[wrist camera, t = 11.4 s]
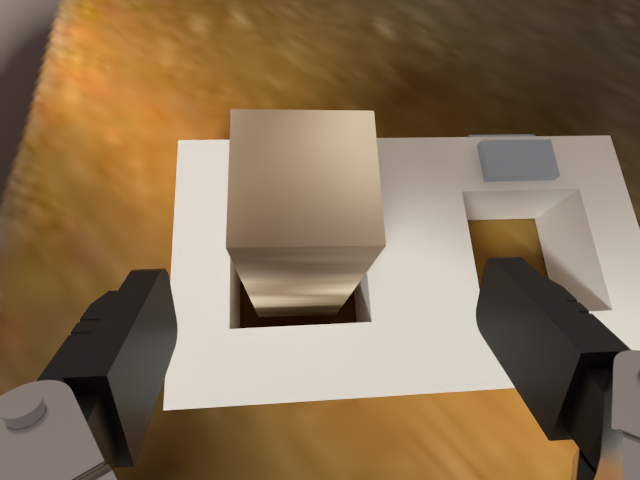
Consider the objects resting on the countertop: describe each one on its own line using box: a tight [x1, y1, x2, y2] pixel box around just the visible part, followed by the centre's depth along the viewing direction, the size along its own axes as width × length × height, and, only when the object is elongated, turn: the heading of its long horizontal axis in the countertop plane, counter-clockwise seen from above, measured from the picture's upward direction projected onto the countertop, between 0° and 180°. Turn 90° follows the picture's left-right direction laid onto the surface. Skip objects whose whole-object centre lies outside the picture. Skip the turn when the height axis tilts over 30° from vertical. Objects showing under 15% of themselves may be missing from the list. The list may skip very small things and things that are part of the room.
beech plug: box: [226, 109, 386, 317], centre depth 17 cm, size 4×4×12 cm
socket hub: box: [163, 134, 640, 410], centre depth 21 cm, size 22×12×4 cm, turn 93°
